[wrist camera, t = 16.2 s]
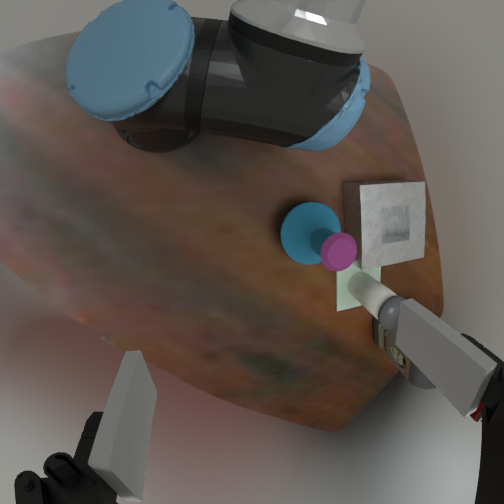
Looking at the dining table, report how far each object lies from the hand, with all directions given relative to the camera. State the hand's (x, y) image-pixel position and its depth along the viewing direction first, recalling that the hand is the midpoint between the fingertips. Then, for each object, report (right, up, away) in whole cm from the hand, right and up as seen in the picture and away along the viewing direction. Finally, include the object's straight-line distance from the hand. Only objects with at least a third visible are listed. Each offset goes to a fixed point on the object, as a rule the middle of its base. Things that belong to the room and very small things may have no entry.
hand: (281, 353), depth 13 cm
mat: (+18, -1, +37) cm, 41 cm away
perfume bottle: (+7, +9, +33) cm, 35 cm away
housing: (+20, +11, +34) cm, 41 cm away
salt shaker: (+18, -1, +36) cm, 41 cm away
